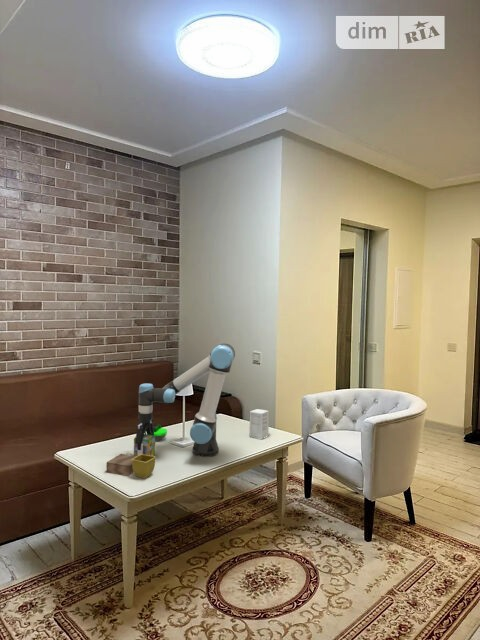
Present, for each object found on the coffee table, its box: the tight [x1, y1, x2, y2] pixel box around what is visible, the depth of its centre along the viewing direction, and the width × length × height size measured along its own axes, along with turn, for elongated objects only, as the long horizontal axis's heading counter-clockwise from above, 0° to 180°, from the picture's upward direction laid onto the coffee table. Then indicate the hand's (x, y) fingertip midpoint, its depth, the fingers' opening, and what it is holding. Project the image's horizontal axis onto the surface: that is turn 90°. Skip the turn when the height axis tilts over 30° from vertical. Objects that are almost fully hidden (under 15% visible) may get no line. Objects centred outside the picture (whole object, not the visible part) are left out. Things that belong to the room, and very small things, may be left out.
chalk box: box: [133, 431, 156, 456], centre depth 243 cm, size 9×9×15 cm
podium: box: [105, 453, 137, 477], centre depth 226 cm, size 13×13×5 cm
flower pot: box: [132, 454, 157, 479], centre depth 218 cm, size 9×9×9 cm
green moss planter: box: [153, 423, 168, 441], centre depth 274 cm, size 12×12×11 cm
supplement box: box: [248, 408, 270, 440], centre depth 286 cm, size 10×9×17 cm
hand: (144, 452), depth 243 cm, fingers closed on chalk box, 9 cm apart
